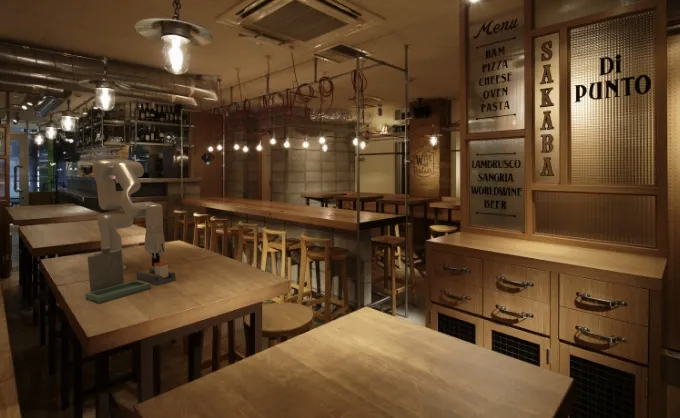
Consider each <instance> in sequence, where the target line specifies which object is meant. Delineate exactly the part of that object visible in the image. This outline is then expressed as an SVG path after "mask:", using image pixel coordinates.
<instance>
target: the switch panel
mask: <svg viewBox="0 0 680 418" xmlns="http://www.w3.org/2000/svg"><path fill="white" fill-rule="evenodd" d="M135 274H136V280H139V281H143V282H147V283H151V285H156V286H162V285H165V284H167V283H172V282H176V272H174V271H169V270H168V276H169V277H165V278H162V276H160V275H155V267H151V268H149V272H145V271H142V270H139V271H136V272H135Z"/></svg>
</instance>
